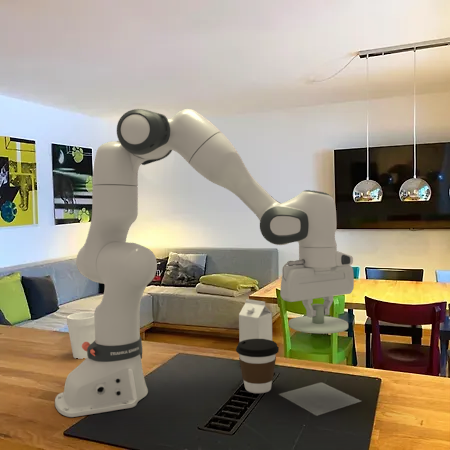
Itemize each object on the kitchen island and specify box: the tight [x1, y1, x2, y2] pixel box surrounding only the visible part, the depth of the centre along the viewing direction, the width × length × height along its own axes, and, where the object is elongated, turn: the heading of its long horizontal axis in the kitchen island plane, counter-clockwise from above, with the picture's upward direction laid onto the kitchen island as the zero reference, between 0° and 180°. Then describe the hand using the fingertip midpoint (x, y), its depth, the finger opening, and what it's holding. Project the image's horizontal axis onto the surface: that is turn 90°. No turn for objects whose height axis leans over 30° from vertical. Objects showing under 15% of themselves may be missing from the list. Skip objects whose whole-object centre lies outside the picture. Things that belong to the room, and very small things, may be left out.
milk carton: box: [238, 298, 273, 343], centre depth 140 cm, size 7×7×19 cm
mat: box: [278, 381, 362, 417], centre depth 114 cm, size 14×14×1 cm
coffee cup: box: [235, 339, 280, 394], centre depth 120 cm, size 11×11×12 cm
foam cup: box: [66, 311, 95, 360], centre depth 151 cm, size 10×9×13 cm
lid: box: [288, 303, 349, 335], centre depth 112 cm, size 14×14×5 cm
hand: (318, 316), depth 112 cm, fingers closed on lid, 3 cm apart
